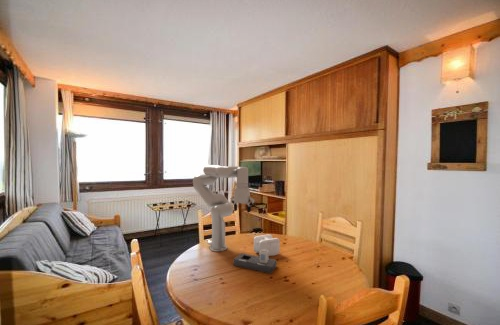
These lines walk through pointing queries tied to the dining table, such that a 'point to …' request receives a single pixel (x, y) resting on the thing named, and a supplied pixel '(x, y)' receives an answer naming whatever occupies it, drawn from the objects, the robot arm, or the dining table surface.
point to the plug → (264, 256)
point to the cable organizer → (267, 244)
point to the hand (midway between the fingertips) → (242, 211)
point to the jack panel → (254, 263)
